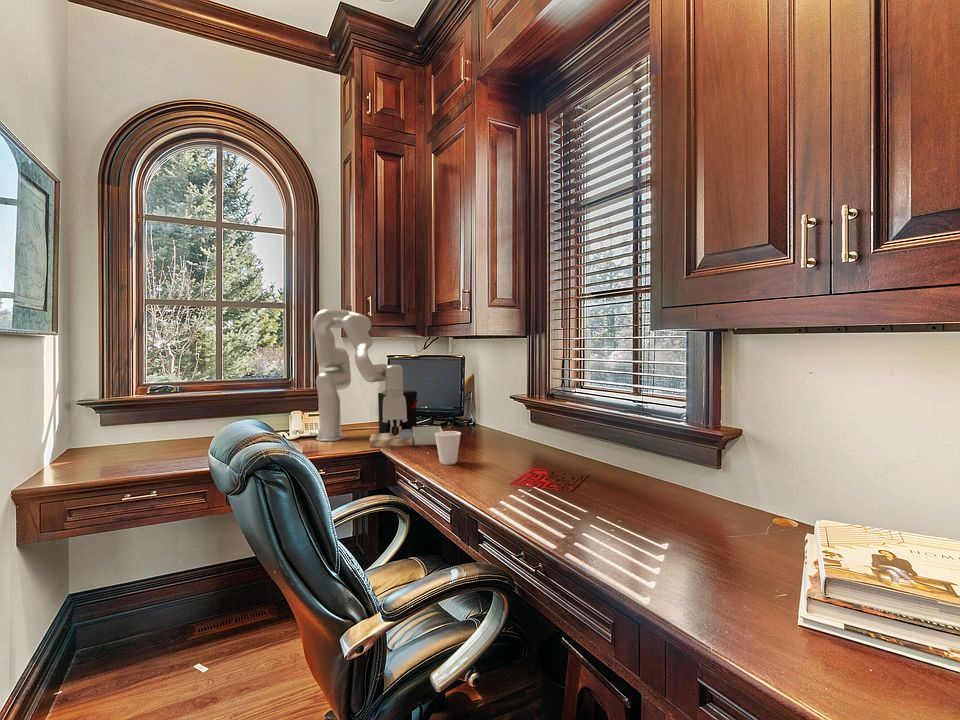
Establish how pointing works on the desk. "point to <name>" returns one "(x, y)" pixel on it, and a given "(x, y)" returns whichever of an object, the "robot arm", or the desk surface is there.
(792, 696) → the desk surface
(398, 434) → the tile terracotta
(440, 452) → the cup
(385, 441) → the board
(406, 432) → the tile slate
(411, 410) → the electrical component
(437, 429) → the tray
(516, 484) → the maze puzzle
